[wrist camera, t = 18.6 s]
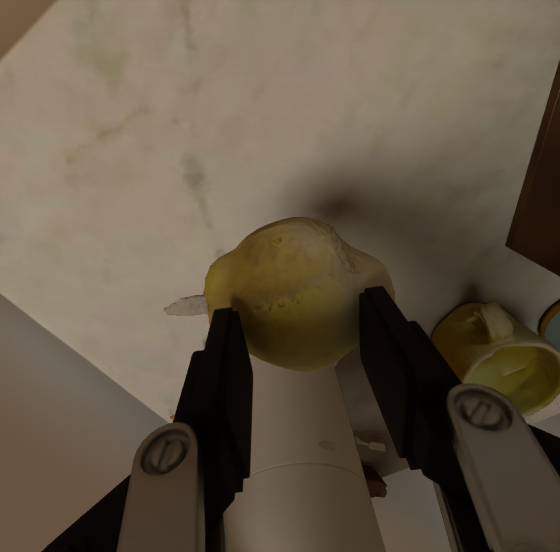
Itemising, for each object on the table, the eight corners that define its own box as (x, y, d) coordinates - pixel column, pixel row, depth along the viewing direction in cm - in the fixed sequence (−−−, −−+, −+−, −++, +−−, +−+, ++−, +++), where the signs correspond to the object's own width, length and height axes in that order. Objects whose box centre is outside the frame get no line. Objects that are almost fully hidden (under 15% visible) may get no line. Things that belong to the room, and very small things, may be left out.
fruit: (140, 245, 14) (357, 164, 11) (211, 315, 18) (382, 268, 15) (89, 362, 10) (402, 281, 7) (194, 418, 14) (420, 379, 11)
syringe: (346, 439, 42) (353, 450, 40) (351, 426, 42) (358, 437, 40) (406, 450, 45) (415, 462, 43) (411, 439, 44) (421, 449, 42)
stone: (379, 481, 48) (387, 504, 46) (334, 488, 48) (339, 511, 46) (379, 456, 45) (388, 478, 43) (331, 463, 45) (336, 485, 43)
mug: (528, 368, 35) (578, 440, 26) (430, 366, 39) (443, 429, 30) (534, 267, 31) (593, 311, 22) (424, 276, 35) (438, 316, 26)
